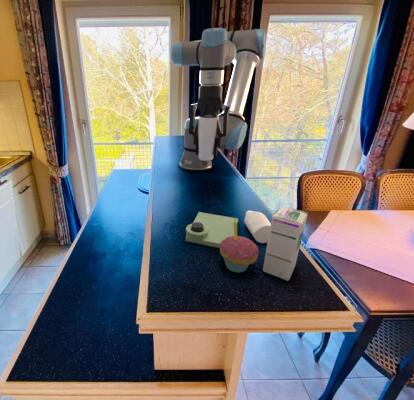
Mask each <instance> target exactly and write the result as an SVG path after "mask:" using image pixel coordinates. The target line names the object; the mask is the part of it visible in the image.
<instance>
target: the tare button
mask: <svg viewBox="0 0 414 400" xmlns="http://www.w3.org/2000/svg"><path fill="white" fill-rule="evenodd" d="M192 223H193V222H192ZM192 223H191V224H192ZM192 231H193V232H202V231H203V224H202V223H199V222H195V223H193V224H192Z"/></svg>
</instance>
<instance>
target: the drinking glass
mask: <svg viewBox="0 0 414 400" xmlns="http://www.w3.org/2000/svg"><path fill="white" fill-rule="evenodd" d="M198 117H199V116H198ZM218 118H219V117H217V118H213V116H211V115H205V117H204V118H202V117H199V122H198V143H199V156H198V157H199V159H200V160H203V161H210V160H211V161H212V160H214V146H215V138H216V137H217V132H216V129H217V119H218Z"/></svg>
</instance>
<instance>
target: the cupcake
mask: <svg viewBox="0 0 414 400" xmlns="http://www.w3.org/2000/svg"><path fill="white" fill-rule="evenodd" d="M233 218H234V219H235V218H236V217H233ZM219 247H220V248H219V254H220V256H222V258H223V260H224V264H225V267H226V269H228V270H229V271H230V272H232V273H244V272H245V271H246V270H247V269H248V267H249V266H250V265H253V264H254V263H256V261H257V260H258V258H259V247H258V245H257V244H256V243H255V242H254V241H253V240H251V239H249V237H248V238H247V237H245V236H241V235H238V223H237V221H236V220H235V221H234V236H231V237H227V238H225V239H224V240H222V242H221V243H220V245H219Z"/></svg>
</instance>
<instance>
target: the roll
mask: <svg viewBox="0 0 414 400" xmlns="http://www.w3.org/2000/svg"><path fill="white" fill-rule="evenodd" d="M243 222H244V223H243V224H244V225H245V226H246V228H247V229H248V231H249V232H250V234H251V236H252V237H253V238H254V240H255V241H256V242H258V243H260V244H267V242H268V237H269V232H270V226H271V222H270V221H269V219H268V217H267V216H266V215H265V214H264V213H263V212H260V211H254V210H246V212H245V216H244V219H243Z"/></svg>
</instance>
